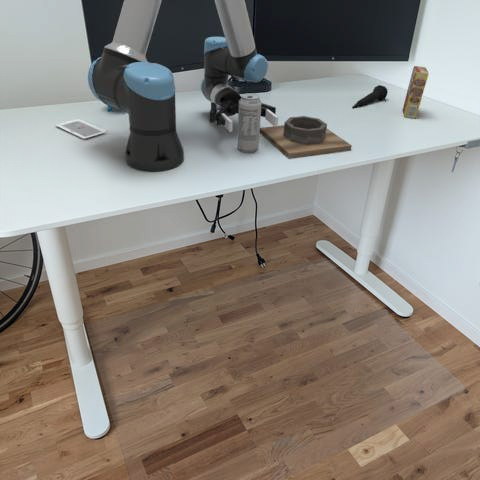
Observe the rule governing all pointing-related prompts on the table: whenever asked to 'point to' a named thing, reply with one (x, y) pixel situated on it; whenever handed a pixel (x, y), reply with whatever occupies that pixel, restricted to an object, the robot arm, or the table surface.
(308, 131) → the can dock
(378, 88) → the microphone
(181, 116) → the table surface
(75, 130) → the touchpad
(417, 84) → the candy box
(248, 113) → the energy drink can
